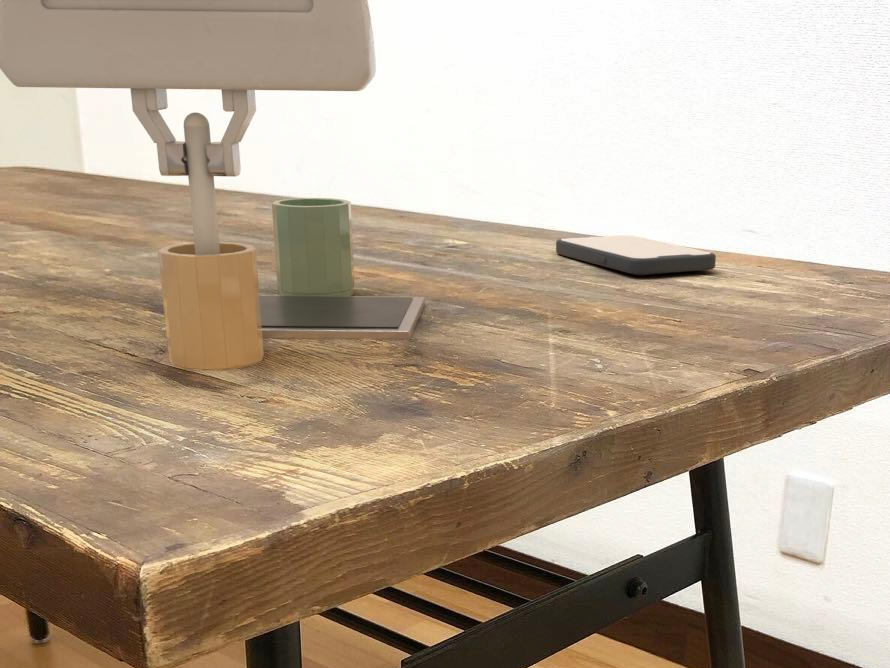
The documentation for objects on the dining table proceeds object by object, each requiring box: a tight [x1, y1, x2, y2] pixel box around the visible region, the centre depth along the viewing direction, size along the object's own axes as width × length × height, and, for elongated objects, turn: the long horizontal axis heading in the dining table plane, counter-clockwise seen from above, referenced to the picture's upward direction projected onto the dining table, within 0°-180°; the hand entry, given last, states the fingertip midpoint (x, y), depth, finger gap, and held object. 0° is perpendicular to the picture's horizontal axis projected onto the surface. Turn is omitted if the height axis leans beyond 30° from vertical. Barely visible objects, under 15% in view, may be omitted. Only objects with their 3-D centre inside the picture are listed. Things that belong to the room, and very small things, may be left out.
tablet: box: [161, 294, 426, 341], centre depth 85 cm, size 16×12×1 cm
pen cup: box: [271, 197, 355, 296], centre depth 95 cm, size 6×6×7 cm
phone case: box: [555, 234, 717, 277], centre depth 112 cm, size 9×2×16 cm
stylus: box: [183, 112, 220, 255], centre depth 72 cm, size 1×1×14 cm
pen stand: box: [157, 241, 265, 371], centre depth 73 cm, size 5×6×7 cm
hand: (200, 175), depth 70 cm, fingers closed on stylus, 1 cm apart
